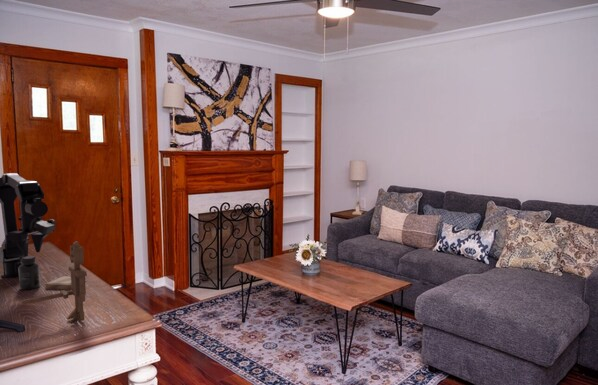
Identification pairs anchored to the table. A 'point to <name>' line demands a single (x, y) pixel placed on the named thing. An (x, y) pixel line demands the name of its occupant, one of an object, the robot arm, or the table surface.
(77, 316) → the wooden figure
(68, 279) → the beige flat block
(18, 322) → the table surface
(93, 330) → the table surface
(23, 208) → the robot arm
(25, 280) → the supplement bottle
